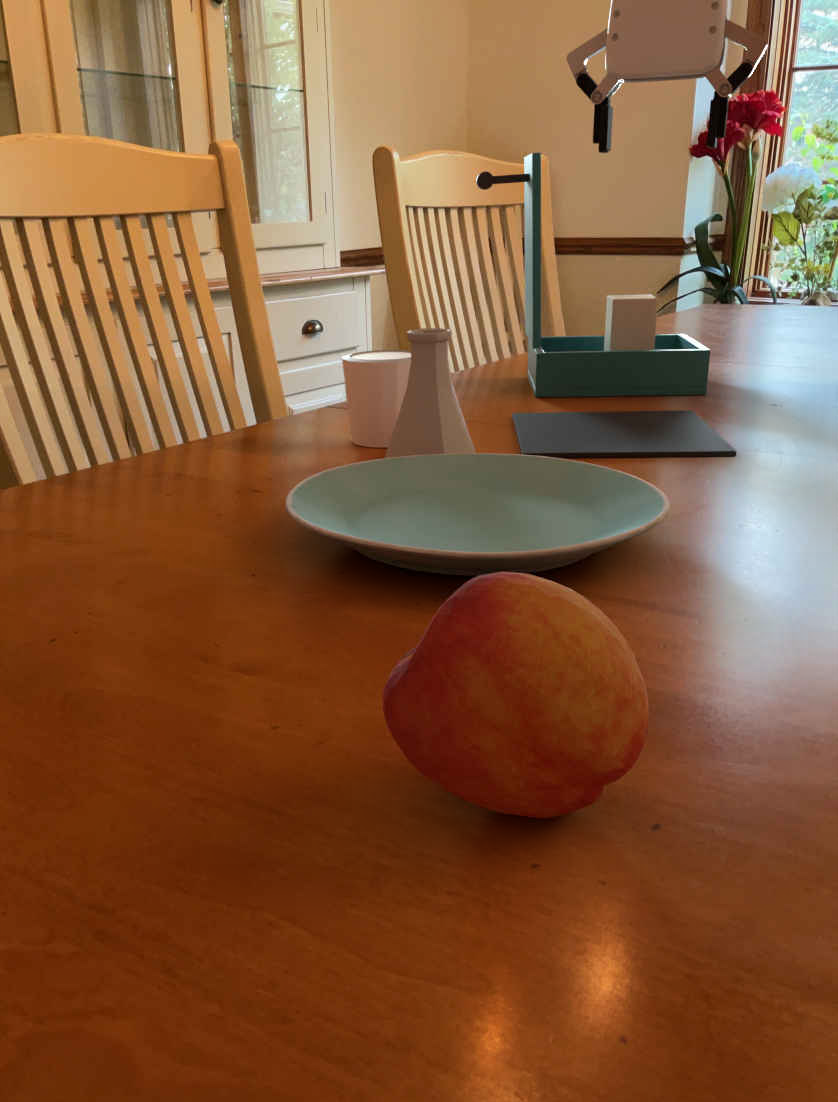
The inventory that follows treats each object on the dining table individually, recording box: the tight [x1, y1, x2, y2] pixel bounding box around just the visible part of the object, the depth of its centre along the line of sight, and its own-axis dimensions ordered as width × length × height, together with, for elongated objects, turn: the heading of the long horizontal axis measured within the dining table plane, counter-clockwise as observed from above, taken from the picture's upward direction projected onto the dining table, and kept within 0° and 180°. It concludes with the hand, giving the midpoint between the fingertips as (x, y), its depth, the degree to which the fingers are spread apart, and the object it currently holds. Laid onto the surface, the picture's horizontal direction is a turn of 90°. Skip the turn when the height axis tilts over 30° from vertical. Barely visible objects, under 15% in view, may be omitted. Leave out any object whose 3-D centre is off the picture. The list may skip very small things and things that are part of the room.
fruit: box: [381, 572, 650, 819], centre depth 34 cm, size 8×8×8 cm
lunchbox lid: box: [475, 152, 542, 349], centre depth 104 cm, size 17×13×6 cm
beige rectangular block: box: [604, 293, 659, 351], centre depth 107 cm, size 4×4×8 cm
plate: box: [284, 452, 671, 577], centre depth 62 cm, size 22×22×3 cm
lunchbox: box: [526, 333, 711, 398], centre depth 108 cm, size 17×13×4 cm
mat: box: [512, 409, 737, 459], centre depth 87 cm, size 16×16×1 cm
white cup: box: [341, 349, 411, 449], centre depth 86 cm, size 7×7×7 cm
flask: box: [384, 327, 477, 458], centre depth 76 cm, size 7×7×10 cm
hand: (657, 150), depth 97 cm, fingers open, 9 cm apart
